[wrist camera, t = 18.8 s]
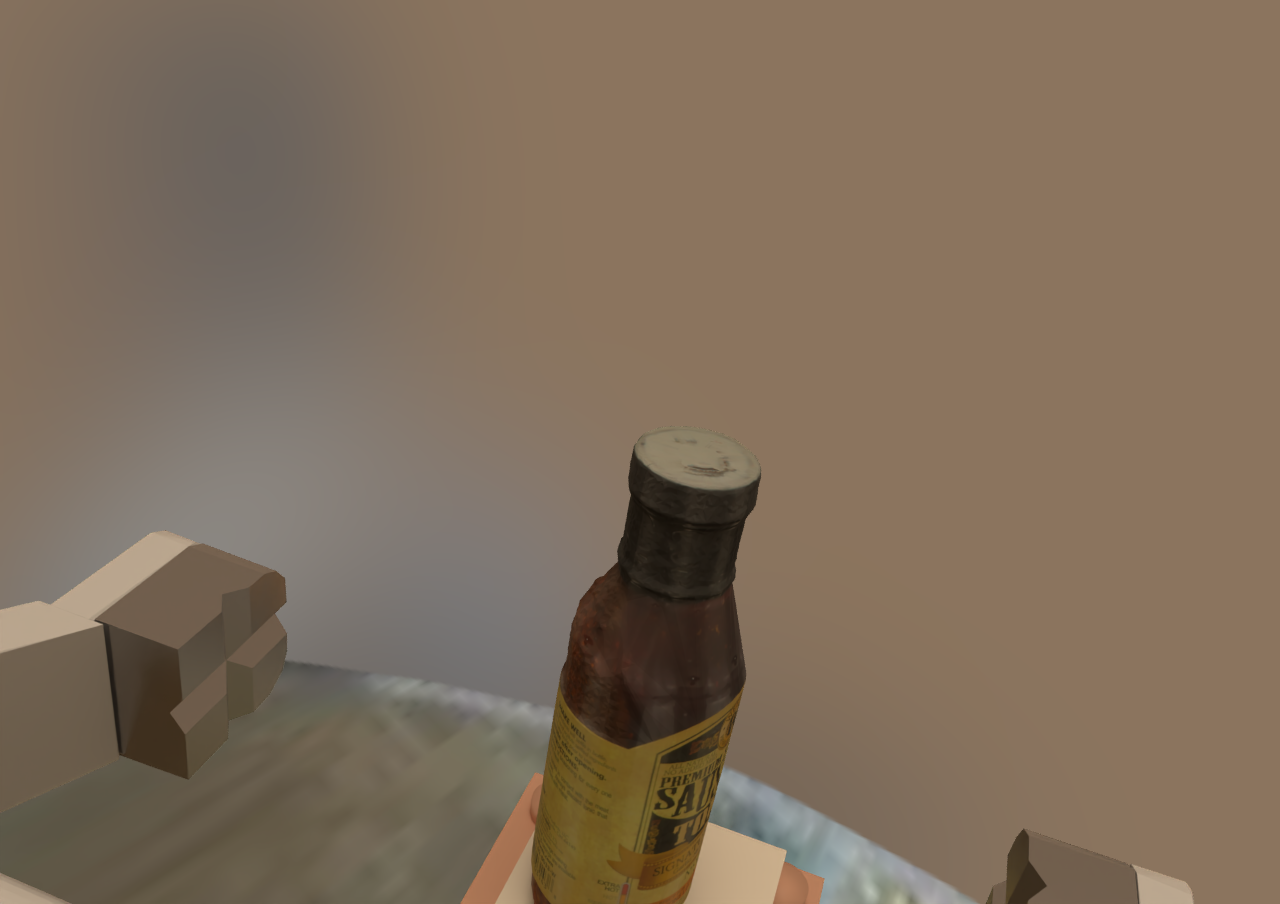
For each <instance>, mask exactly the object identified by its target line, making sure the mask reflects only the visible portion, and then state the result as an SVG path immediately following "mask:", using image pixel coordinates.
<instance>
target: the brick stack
mask: <svg viewBox="0 0 1280 904" xmlns="http://www.w3.org/2000/svg"><path fill="white" fill-rule="evenodd" d="M543 777H544V775H541V774H538V773H536V772H535V774H534V776H533V777H532V779H531V781H530V783H529V784H528V786H527V788H526V790H525V791H524V793H523V795H522V797H521V798H520V800H519V802H518V804H517V805H516V807H515V809H514V811H513V812H512V814H511V816H510V818H509V819H508V821H507V823H506V825H505V826H504V828H503V830H502V832H501V833H500V835H499V837H498V839H497V840H496V842H495V844H494V846H493V847H492V849H491V851H490V853H489V854H488V856H487V858H486V860H485V861H484V863H483V865H482V867H481V869H480V870H479V872H478V874H477V876H476V877H475V879H474V881H473V883H472V884H471V886H470V888H469V890H468V891H467V893H466V895H465V897H464V898H463V900H462V902H461V904H534V899H533V893H532V887H531V880H532V865H531V855H532V846H533V839H534V832H535V826H536V820H537V814H538V808H539V801H540V795H541V789H542V783H543ZM786 852H787V851H786V850H783V849H781V848H778V847H775V846H772V845H770V844H767V843H764V842H761V841H759V840H756V839H753V838H750V837H748V836H745V835H742V834H739V833H737V832H734V831H731V830H728V829H726V828H723V827H720V826H717V825H715V824H712V823H709V822H708V824H707V827H706V831H705V835H704V839H703V843H702V846H701V850H700V854H699V858H698V862H697V865H696V869H695V873H694V876H693V880H692V884H691V888H690V891H689V894H688V896H687V898H686V900H685V902H684V903H683V904H819V902H820V897H821V892H822V888H823V883H824V878H822V877H819V876H816V875H813V874H811V873H808V872H805V871H803V870H800V869H797V868H796V867H795V866H793V865H791V864H789V863H787V862H784V860H785V856H786Z"/></svg>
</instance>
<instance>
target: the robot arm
mask: <svg viewBox="0 0 1280 904" xmlns="http://www.w3.org/2000/svg"><path fill="white" fill-rule="evenodd" d="M285 603H286V587H285V578H284V577H283V576H281V575H280V574H279V573H278V572H277V571H275V570H272V569H269V568H267V567H263V566H261V565H259V564H256V563H253V562H251V561H248V560H245V559H243V558H240V557H237V556H235V555H232V554H229V553H226V552H224V551H221V550H218V549H216V548H213V547H211V546H208V545H205V544H199V543H196V542H194V541H192V540H189V539H186V538H184V537H181V536H178V535H176V534H173V533H171V532H168V531H166V530H165V531H159V532H153V533H150V534H148V535H147V536H146V537H144V538H143V539H141V540H140V541H139V542H137V543H136V544H135V545H133V546H132V547H130V548H129V549H128V550H126V551H125V552H123V553H122V554H121V555H119V556H118V557H116V558H115V559H114V560H112V561H111V562H110V563H108V564H107V565H105V566H104V567H103V568H101V569H100V570H98V571H97V572H96V573H94V574H93V575H91V576H90V577H89V578H87V579H86V580H84V581H83V582H82V583H80V584H79V585H77V586H76V587H75V588H73V589H72V590H70V591H69V592H68V593H66V594H65V595H63V596H62V597H61V598H59V599H58V600H56V601H55V602H54V603H52V604H51V605H49V604H46V603H43V602H41V601H36V602H31V603H27V604H23V605H19V606H15V607H11V608H7V609H2V610H0V813H1V812H3V811H6V810H8V809H10V808H12V807H14V806H17V805H19V804H21V803H23V802H26V801H28V800H30V799H32V798H34V797H37V796H39V795H41V794H43V793H46V792H48V791H50V790H52V789H54V788H57V787H59V786H61V785H63V784H66V783H68V782H70V781H72V780H75V779H77V778H79V777H81V776H83V775H86V774H88V773H90V772H92V771H95V770H97V769H99V768H101V767H103V766H106V765H108V764H110V763H112V762H115V761H117V760H119V755H121V756H124V757H127V758H129V759H132V760H135V761H138V762H140V763H143V764H146V765H149V766H151V767H154V768H157V769H160V770H163V771H165V772H168V773H171V774H174V775H176V776H179V777H182V778H185V779H187V780H189V779H190V778H191V777H192V776H193V775H194V774H195V773H196V772H197V771H198V770H199V769H200V768H201V767H202V766H203V764H204V763H205V762H206V761H207V760H208V759H209V758H210V757H211V756H212V755H213V754H214V753H215V752H216V751H217V750H218V749H219V748H220V747H221V746H222V745H223V744H224V743H225V742H226V741H227V740H228V731H229V721H230V720H232V719H235V718H238V717H241V716H244V715H247V714H250V713H252V712H254V711H255V710H256V709H257V708H258V707H259V706H260V705H261V704H262V703H263V701H264V700H265V699H266V698H267V697H268V696H269V695H270V693H271V691H272V690H273V688H274V686H275V684H276V682H277V680H278V678H279V676H280V674H281V673H282V671H283V666H284V662H285V657H286V652H287V633H286V631H285V629H284V628H283V626H282V625H281V623H280V621H279V620H278V618H277V616H276V615H275V613H276V612H277V611H278V610H279V609H280V608H281V607H282V606H283V605H284V604H285ZM0 904H71V903H68V902H66V901H64V900H61V899H59V898H57V897H54V896H52V895H50V894H47V893H45V892H43V891H41V890H38V889H36V888H34V887H31V886H29V885H27V884H24V883H22V882H20V881H17V880H15V879H13V878H11V877H8V876H6V875H4V874H1V873H0ZM986 904H1194V898H1193V893H1192V891H1191V889H1190V887H1189V886H1188V885H1187V883H1186V882H1184V881H1181V880H1178V879H1175V878H1172V877H1169V876H1166V875H1163V874H1160V873H1157V872H1154V871H1150V870H1148V869H1145V868H1142V867H1139V866H1136V865H1132V864H1131V865H1128V864H1126V863H1125V862H1121V861H1119V860H1116V859H1113V858H1110V857H1107V856H1103V855H1101V854H1098V853H1095V852H1092V851H1089V850H1086V849H1083V848H1080V847H1077V846H1074V845H1071V844H1068V843H1065V842H1062V841H1059V840H1056V839H1053V838H1050V837H1047V836H1044V835H1041V834H1039V833H1036V832H1032V831H1029V830H1027V829H1023V830H1022V831H1021V832H1020V834H1019V835H1018V836H1017V837H1016V839H1015V841H1014V843H1013V845H1012V848H1011V850H1010V852H1009V854H1008V861H1007V880H1006V881H1004V882H1002V883H999V884H997V885H994V886H993V888H992V891H991V893H990V895H989V897H988V900H987V902H986Z"/></svg>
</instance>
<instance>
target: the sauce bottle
mask: <svg viewBox="0 0 1280 904" xmlns="http://www.w3.org/2000/svg"><path fill="white" fill-rule="evenodd" d="M628 479H629V490H630V493H631V497H630V502H629V507H628V513H627V519H626V524H625V530H624V536H623V537H622V538H621V541H620V544H619V547H618V551H617V552H618V562H617V563H616V564H615V565H614V566H613V567H612V568H611V569H610V570H609V571H608V572H607V573H606V574H605V575H604V576H602V577H599V578H597V579H596V580H595V581H594V583H593V585H592V586H591V587H590V589H589V590H588V591H587V592H586V593H585V595H584V596H583V597H582V599H581V600H580V603H579V606H578V608H577V612H576V615H575V617H574V620H573V623H572V627H571V632H570V640H569V646H568V655H567V660H566V662H565V664H564V666H563V668H562V671H561V676H560V682H559V687H558V692H557V698H556V704H555V710H554V716H553V722H552V729H551V735H550V741H549V747H548V753H547V759H546V765H545V771H544V777H543V783H542V789H541V795H540V801H539V808H538V814H537V820H536V826H535V832H534V839H533V846H532V855H531V865H532V880H531V887H532V893H533V899H534V904H683V903H684V902H685V900H686V898H687V896H688V894H689V891H690V888H691V884H692V880H693V876H694V873H695V869H696V865H697V862H698V858H699V854H700V850H701V846H702V843H703V839H704V835H705V831H706V827H707V824H708V820H709V816H710V812H711V809H712V805H713V802H714V798H715V794H716V790H717V786H718V783H719V779H720V776H721V773H722V769H723V765H724V761H725V756H726V753H727V749H728V745H729V741H730V737H731V733H732V729H733V725H734V722H735V718H736V714H737V711H738V707H739V703H740V700H741V696H742V692H743V688H744V684H745V680H746V669H745V662H744V656H743V649H742V643H741V636H740V629H739V623H738V616H737V609H736V603H735V598H734V590H733V584H732V582H733V581H734V579H735V573H736V568H735V561H736V559H737V552H738V548H739V542H740V539H741V535H742V532H743V528H744V524H745V519H746V518H747V516H748V515H749V514H750V513H751V511H752V510H753V508H754V507H755V505H756V500H757V494H758V487H759V482H760V479H761V467H760V464H759V462H758V460H757V458H756V456H755V455H754V454H753V453H752V452H750V451H749V450H748V449H747V448H746V447H745V446H743V445H742V444H741V443H739V442H738V441H737V440H735V439H733V438H731V437H729V436H726V435H724V434H722V433H718V432H715V431H711V430H707V429H703V428H696V427H687V426H685V427H673V426H670V427H662V428H657V429H655V430H652V431H649V432H647V433H645V434H644V435H642V436H641V437H640V439H639V440H638V441H637V443H636V444H635V446H634V449H633V454H632V459H631V463H630V472H629V477H628Z"/></svg>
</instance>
